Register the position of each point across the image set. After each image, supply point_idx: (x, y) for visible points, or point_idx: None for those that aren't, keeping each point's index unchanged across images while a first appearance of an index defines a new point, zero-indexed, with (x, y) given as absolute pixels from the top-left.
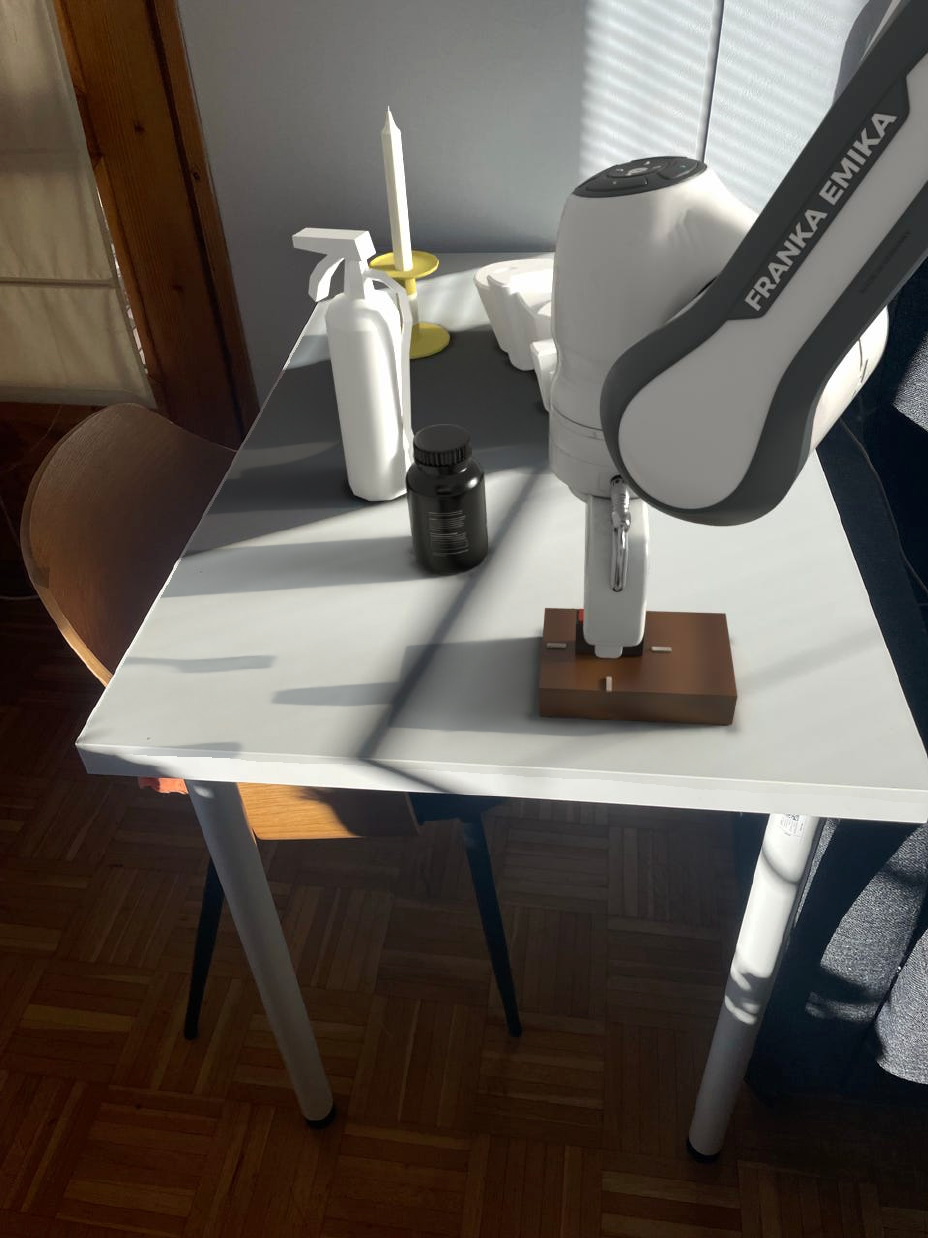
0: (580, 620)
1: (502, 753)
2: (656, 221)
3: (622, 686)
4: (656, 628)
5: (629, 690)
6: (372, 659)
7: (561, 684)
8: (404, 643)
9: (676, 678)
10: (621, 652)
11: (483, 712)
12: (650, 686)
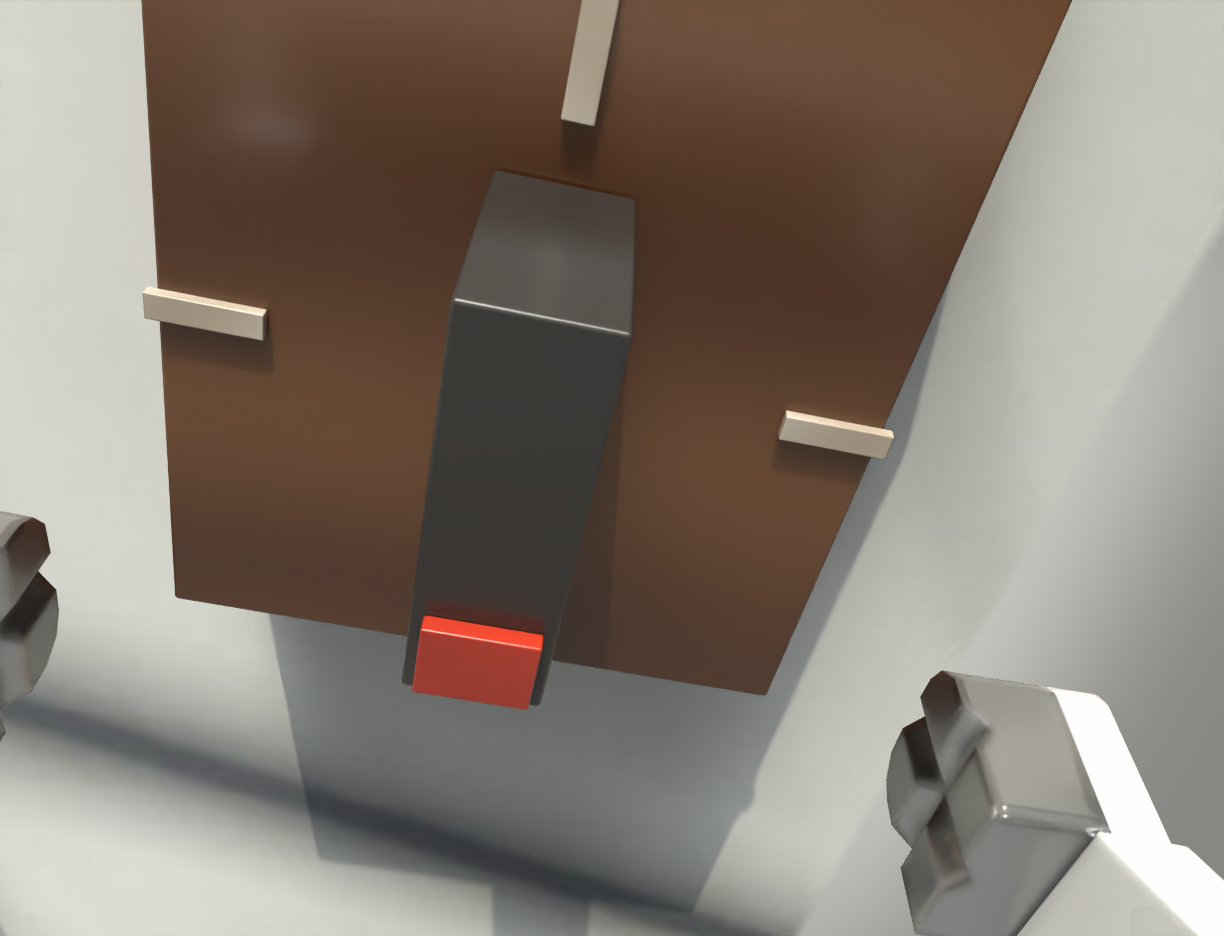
0: (529, 701)
1: (900, 688)
2: None
3: (865, 366)
4: (350, 26)
5: (913, 340)
6: (384, 926)
7: (769, 622)
8: (305, 862)
9: (900, 18)
10: (1111, 717)
11: (682, 714)
12: (920, 215)
